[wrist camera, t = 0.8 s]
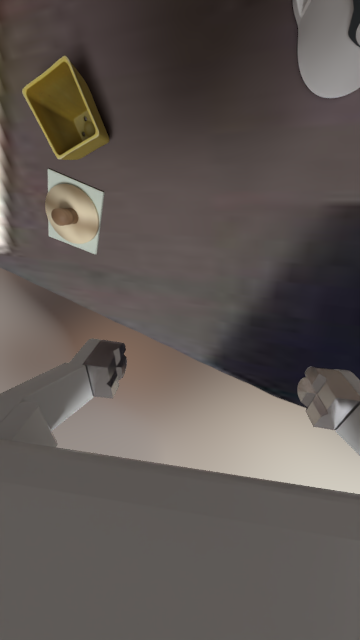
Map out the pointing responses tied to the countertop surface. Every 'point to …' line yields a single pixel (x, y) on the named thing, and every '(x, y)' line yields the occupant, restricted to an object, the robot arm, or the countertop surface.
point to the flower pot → (66, 111)
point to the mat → (93, 193)
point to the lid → (72, 213)
